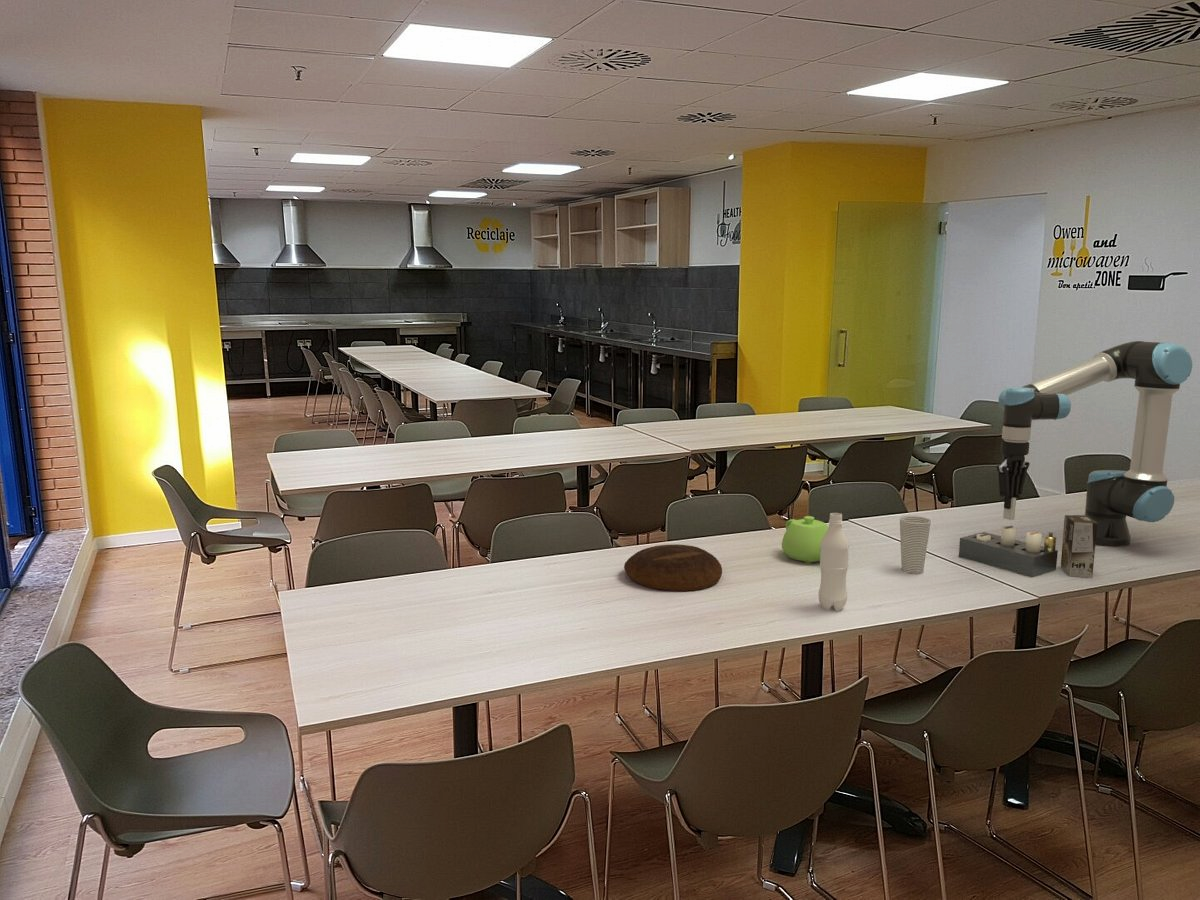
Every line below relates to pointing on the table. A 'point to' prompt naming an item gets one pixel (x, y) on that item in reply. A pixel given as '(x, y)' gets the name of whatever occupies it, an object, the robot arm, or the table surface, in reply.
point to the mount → (1007, 555)
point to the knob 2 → (1008, 536)
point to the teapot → (804, 539)
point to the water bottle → (834, 565)
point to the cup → (914, 543)
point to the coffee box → (1078, 545)
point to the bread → (674, 567)
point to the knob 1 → (984, 537)
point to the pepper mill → (1050, 542)
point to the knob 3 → (1033, 542)
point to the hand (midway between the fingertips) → (1008, 518)
